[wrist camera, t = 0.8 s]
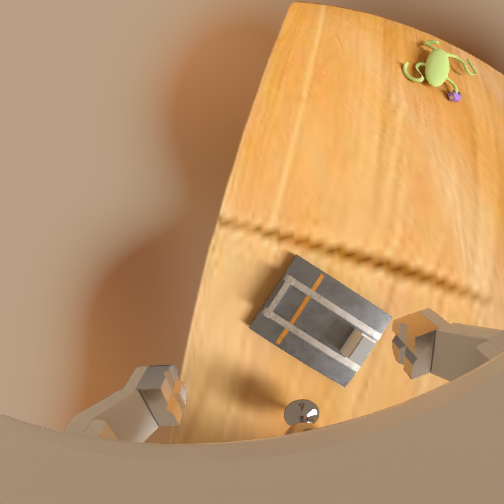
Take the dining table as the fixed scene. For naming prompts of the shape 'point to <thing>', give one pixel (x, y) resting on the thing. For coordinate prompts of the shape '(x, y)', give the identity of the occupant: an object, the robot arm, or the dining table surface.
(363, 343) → the fader tab
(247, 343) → the dining table surface
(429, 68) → the figurine
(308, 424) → the wine glass
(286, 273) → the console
